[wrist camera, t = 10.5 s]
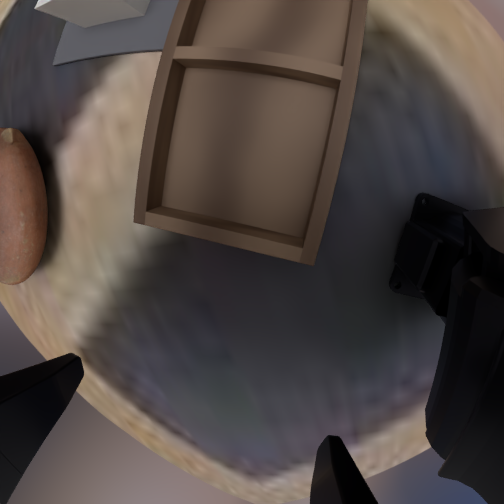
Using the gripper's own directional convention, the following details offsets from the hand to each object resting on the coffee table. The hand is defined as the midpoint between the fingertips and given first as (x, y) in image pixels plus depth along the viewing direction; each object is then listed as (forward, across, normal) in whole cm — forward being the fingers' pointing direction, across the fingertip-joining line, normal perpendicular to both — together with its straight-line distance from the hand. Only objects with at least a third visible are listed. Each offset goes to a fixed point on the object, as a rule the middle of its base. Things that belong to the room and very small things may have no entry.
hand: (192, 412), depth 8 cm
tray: (+11, +2, -13) cm, 17 cm away
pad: (+11, +14, -20) cm, 27 cm away
